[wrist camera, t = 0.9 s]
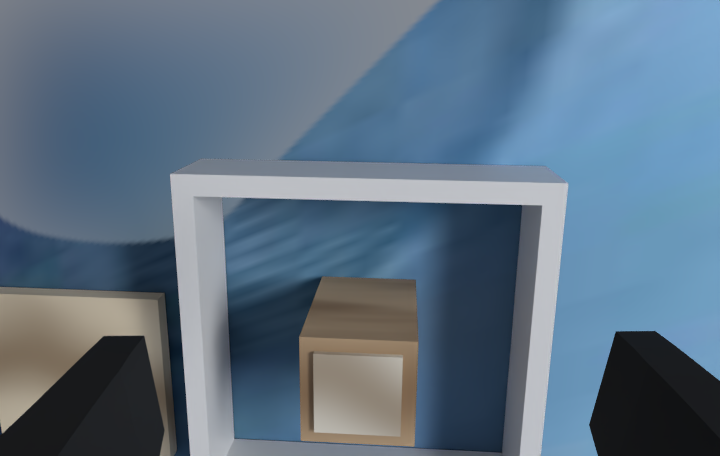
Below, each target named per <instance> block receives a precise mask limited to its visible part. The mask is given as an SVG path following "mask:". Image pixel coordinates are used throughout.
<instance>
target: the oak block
mask: <svg viewBox="0 0 720 456" xmlns="http://www.w3.org/2000/svg"><path fill="white" fill-rule="evenodd" d="M299 357H300V414H301V441H317V442H336V443H355V444H374V445H393V446H413V447H414V443H415V417H416V391H417V366H418V322H417V300H416V280H407V279H378V278H349V277H322V279H321V281H320V284H319V286H318V289H317V292H316V294H315V297H314V300H313V302H312V305H311V307H310V310H309V313H308V315H307V318H306V320H305V323H304V326H303V328H302V331H301V334H300V336H299Z"/></svg>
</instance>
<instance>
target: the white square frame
mask: <svg viewBox="0 0 720 456" xmlns="http://www.w3.org/2000/svg"><path fill="white" fill-rule="evenodd" d="M170 180H171V181H170V182H171V195H172V209H173V223H174V237H175V250H176V264H177V278H178V292H179V306H180V319H181V333H182V347H183V361H184V374H185V388H186V402H187V416H188V429H189V443H190V456H541V446H542V437H543V427H544V417H545V407H546V397H547V387H548V378H549V368H550V358H551V348H552V338H553V328H554V319H555V309H556V299H557V289H558V279H559V270H560V260H561V250H562V240H563V230H564V220H565V211H566V201H567V191H568V183H567V182H566V181H565V180H563V179H562V178H561V177H559V176H558V175H557V174H555V173H554V172H553V171H552V170H550V169H549V168H548V167H546V166H512V165H466V164H421V163H375V162H329V161H284V160H238V159H236V160H235V159H199V160H198V161H195V162H194V163H191V164H189V165H188V166H185V167H183V168H181V169H179V170H177V171H175V172H173V173H171V174H170ZM222 197H237V198H275V199H314V200H352V201H390V202H429V203H467V204H506V205H522V215H521V227H520V240H519V252H518V264H517V276H516V288H515V300H514V312H513V324H512V337H511V349H510V361H509V373H508V385H507V397H506V409H505V421H504V434H503V446H502V453H497V452H478V451H459V450H440V449H421V448H402V447H383V446H364V445H345V444H325V443H306V442H287V441H268V440H249V439H234V424H233V404H232V384H231V365H230V345H229V325H228V305H227V285H226V265H225V245H224V226H223V206H222Z"/></svg>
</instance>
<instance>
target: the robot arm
mask: <svg viewBox="0 0 720 456" xmlns="http://www.w3.org/2000/svg"><path fill="white" fill-rule="evenodd" d="M589 426H590V429H591V433H592V436H593V440H594V443H595V447H596V450H597V454H598V456H720V381H719V380H718V379H716V378H715V377H714V376H713V375H711V374H710V373H709V372H708V371H706V370H705V369H704V368H703V367H701V366H700V365H699V364H698V363H696V362H695V361H694V360H693V359H691V358H690V357H689V356H687V355H686V354H685V353H684V352H682V351H681V350H680V349H678V348H677V347H676V346H675V345H673V344H672V343H671V342H669V341H668V340H667V339H665V338H664V337H662V336H661V335H660V334H658V333H657V332H655V331H622V332H616V333H615V337H614V340H613V344H612V347H611V351H610V354H609V358H608V361H607V365H606V368H605V372H604V375H603V379H602V382H601V386H600V389H599V392H598V396H597V399H596V403H595V406H594V410H593V413H592V417H591V420H590V424H589ZM164 431H165V429H164V425H163V420H162V415H161V411H160V406H159V401H158V397H157V392H156V388H155V383H154V378H153V374H152V369H151V364H150V360H149V355H148V350H147V346H146V341H145V337H144V336H103V337H102V338H101V339H100V340H99V341H98V342H97V343H96V344H95V345H94V346H93V347H92V348H90V349H89V350H88V351H87V352H86V353H85V354H84V355H83V356H82V357H81V358H80V359H79V360H78V361H77V362H76V363H75V364H74V365H73V366H72V367H71V368H70V369H69V370H68V371H67V372H66V373H65V374H64V375H63V376H62V377H61V378H60V379H59V380H58V381H57V382H56V383H55V384H54V385H53V386H51V387H50V388H49V389H48V390H47V391H46V392H45V393H44V394H43V395H42V396H41V397H40V398H39V399H38V400H37V401H36V402H35V403H34V404H33V405H32V406H31V407H30V408H29V409H28V410H27V411H26V412H25V413H24V414H23V415H21V416H20V417H19V418H18V419H17V420H16V421H15V422H14V423H13V424H12V425H11V426H10V427H9V428H8V429H7V430H6V431H5V432H3V433H2V434H1V435H0V456H160V451H161V446H162V441H163V436H164Z"/></svg>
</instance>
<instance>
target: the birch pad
mask: <svg viewBox="0 0 720 456" xmlns="http://www.w3.org/2000/svg"><path fill="white" fill-rule="evenodd" d="M103 336H144V337H145V341H146V346H147V350H148V355H149V360H150V364H151V369H152V374H153V378H154V383H155V388H156V392H157V397H158V401H159V406H160V411H161V415H162V420H163V425H164V429H165V431H164V436H163V441H162V446H161V451H160V456H174V455H175V453H176V451H177V444H176V431H175V418H174V406H173V393H172V380H171V368H170V355H169V342H168V330H167V317H166V304H165V293H153V292H126V291H98V290H71V289H44V288H17V287H0V424H1V430H2V433H3V432H5V431H6V430H7V429H8V428H9V427H10V426H11V425H12V424H13V423H14V422H15V421H16V420H17V419H18V418H19V417H20V416H21V415H23V414H24V413H25V412H26V411H27V410H28V409H29V408H30V407H31V406H32V405H33V404H34V403H35V402H36V401H37V400H38V399H39V398H40V397H41V396H42V395H43V394H44V393H45V392H46V391H47V390H48V389H49V388H50V387H51V386H53V385H54V384H55V383H56V382H57V381H58V380H59V379H60V378H61V377H62V376H63V375H64V374H65V373H66V372H67V371H68V370H69V369H70V368H71V367H72V366H73V365H74V364H75V363H76V362H77V361H78V360H79V359H80V358H81V357H82V356H83V355H84V354H85V353H86V352H87V351H88V350H89V349H90V348H92V347H93V346H94V345H95V344H96V343H97V342H98V341H99V340H100V339H101V338H102V337H103Z"/></svg>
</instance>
